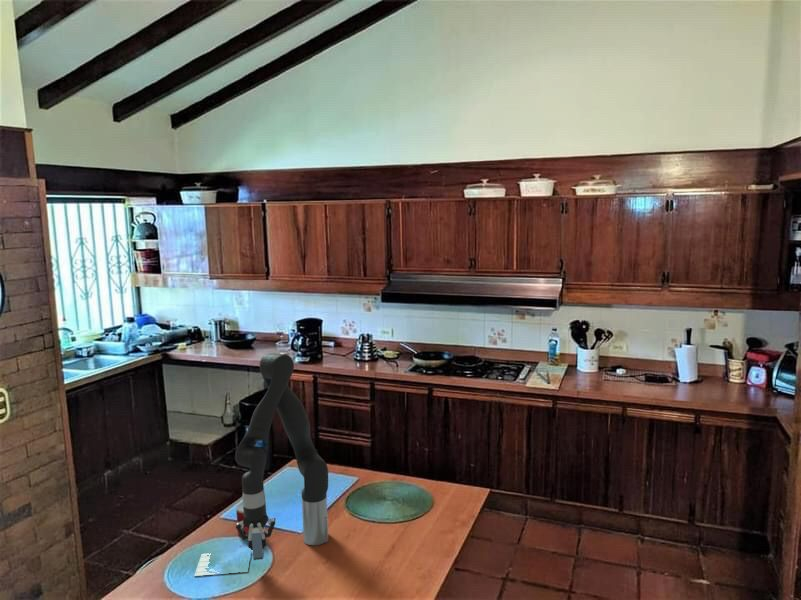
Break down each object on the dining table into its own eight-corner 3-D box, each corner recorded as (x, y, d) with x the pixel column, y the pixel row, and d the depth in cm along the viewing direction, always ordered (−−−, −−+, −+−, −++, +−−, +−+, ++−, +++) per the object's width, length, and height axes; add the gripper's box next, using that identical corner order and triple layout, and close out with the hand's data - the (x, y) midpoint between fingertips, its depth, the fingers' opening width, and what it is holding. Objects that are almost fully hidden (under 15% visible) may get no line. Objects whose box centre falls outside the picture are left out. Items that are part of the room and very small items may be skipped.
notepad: (252, 550, 221) (252, 549, 221) (248, 572, 208) (247, 571, 208) (201, 554, 219) (201, 553, 218) (194, 577, 206) (194, 575, 206)
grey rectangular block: (263, 553, 211) (261, 522, 208) (263, 559, 207) (260, 527, 205) (254, 554, 210) (251, 523, 208) (253, 560, 207) (250, 528, 205)
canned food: (253, 539, 228) (252, 512, 226) (234, 537, 230) (232, 510, 228) (262, 528, 235) (260, 502, 234) (243, 526, 237) (241, 500, 235)
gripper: (275, 494, 210) (279, 539, 213) (234, 498, 208) (238, 544, 211) (274, 505, 202) (278, 552, 205) (231, 509, 200) (235, 556, 204)
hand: (257, 547), depth 208 cm, fingers closed on grey rectangular block, 3 cm apart
